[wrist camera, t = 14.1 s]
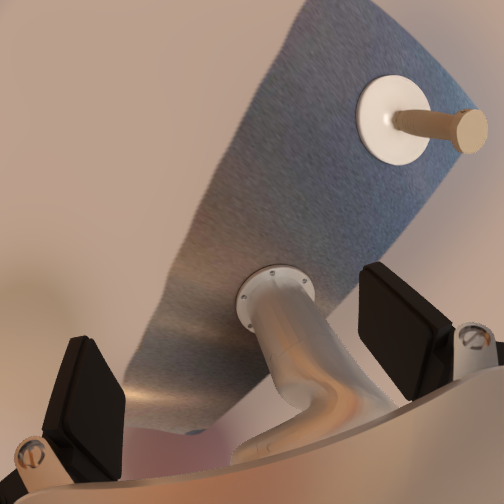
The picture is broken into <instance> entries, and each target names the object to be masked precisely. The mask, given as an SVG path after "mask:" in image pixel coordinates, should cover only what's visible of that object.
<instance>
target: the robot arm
mask: <svg viewBox="0 0 504 504" xmlns="http://www.w3.org/2000/svg"><path fill="white" fill-rule="evenodd" d="M271 271H272V272H271ZM314 300H315V291H314V286H313V284H312V282H311V280H310V279H309V278H308V276H307V275H306V274H305V273H304V272H303V271H301V270H300V269H298V268H296V267H293V266H290V265H273V266H268V267H266V268H263V269H261V270H259V271H257V272H256V273H254V274H253V275H251V276H250V277H249V278H248V279H247V280H246V281H245V282H244V284H243V285H242V286H241V288H240V290H239V292H238V295H237V298H236V311H237V314H238V318H239V320H240V322H241V323H242V324H243V326H244V327H245V328H246V329H248V330H249V331H251V332H253V333H255V334H256V337H257V339H258V342H259V345H260V347H261V350H262V353H263V355H264V358H265V360H266V363H267V366H268V368H269V371H270V374H271V376H272V379H273V382H274V384H275V387H276V389H277V391H278V393H279V394H280V395H281V397H282V398H283V399H284V400H285V401H286V402H288V403H289V404H290V405H292V406H294V407H296V408H298V409H300V410H302V411H303V412H301V413H299V414H297V415H296V416H295V417H294V418H292V419H290V420H288V421H286V422H284V423H282V424H280V425H278V426H276V427H274V428H272V429H270V430H268V431H266V432H263V433H261V434H259V435H257V436H255V437H253V438H251V439H249V440H247V441H245V442H244V443H242V444H241V445H240V446H238V447H237V448H236V450H235V451H234V453H233V454H232V457H231V464H230V465H231V466H226V467H222V468H217V469H211V470H206V471H201V472H195V473H188V474H182V475H175V476H167V477H159V478H149V479H139V480H128V481H118V479H120V478H121V474H122V473H121V472H122V446H123V445H122V444H123V428H124V414H125V402H126V399H125V394H124V392H123V390H122V388H121V387H120V385H119V383H118V382H117V380H116V378H115V377H114V375H113V373H112V372H111V370H110V368H109V367H108V365H107V363H106V361H105V359H104V358H103V356H102V354H101V352H100V351H99V349H98V347H97V345H96V343H95V341H94V340H93V339H89V338H88V337H87V336H79V337H74V338H71V339H70V341H69V344H68V346H67V349H66V352H65V355H64V358H63V360H62V363H61V366H60V369H59V372H58V375H57V378H56V382H55V385H54V388H53V391H52V394H51V398H50V401H49V405H48V408H47V412H46V415H45V419H44V423H43V426H42V430H43V435H42V437H40V436H32V437H28V438H26V439H25V440H23V441H22V442H21V443H20V444H19V446H18V447H17V449H16V451H15V454H14V462H15V466H16V469H15V470H14V471H13V472H11V473H10V474H9V475H8V476H7V477H5V478H4V479H3V480H2V481H1V482H0V504H504V342H497V341H495V337H494V334H493V333H492V331H491V330H490V329H489V328H487V327H486V326H484V325H482V324H480V323H474V322H469V323H464V324H461V325H460V326H458V327H457V329H455V328H454V327H453V326H452V322H451V321H450V320H449V319H448V318H447V317H446V316H444V315H443V314H442V313H441V312H440V311H439V310H438V309H436V308H435V307H434V306H433V305H432V304H431V303H430V302H428V301H427V300H426V299H425V298H424V297H422V296H421V295H420V294H419V293H418V292H417V291H415V290H414V289H413V288H412V287H411V286H409V285H408V284H407V283H406V282H405V281H403V280H402V279H401V278H400V277H398V276H397V275H396V274H395V273H394V272H392V271H391V270H390V269H389V268H387V267H386V266H385V265H384V264H382V263H381V262H375V263H371V264H368V265H365V266H364V267H363V270H362V271H360V273H359V318H358V333H359V337H360V339H361V340H362V342H363V343H364V344H365V345H366V347H367V348H368V349H369V351H370V352H371V353H372V355H373V356H374V357H375V359H376V360H377V361H378V363H379V364H380V365H381V366H382V368H383V369H384V370H385V372H386V373H387V374H388V376H389V377H390V378H391V380H392V381H393V382H394V384H395V385H396V386H397V388H398V389H399V390H400V391H401V393H402V394H403V396H404V397H405V398H406V399H407V400H408V401H411V400H412V402H411V403H409V404H407V405H405V406H403V407H400V408H398V406H397V405H396V404H395V403H394V402H393V400H392V399H391V398H390V397H389V396H388V395H386V393H384V392H383V391H382V390H381V389H380V388H379V387H378V386H377V385H376V384H375V383H374V382H373V381H372V380H371V379H370V378H369V377H368V376H367V375H366V373H365V372H364V371H363V370H362V369H361V367H360V366H359V365H358V364H357V362H356V361H355V360H354V358H353V357H352V356H351V354H350V353H349V351H348V350H347V349H346V347H345V346H344V344H343V343H342V341H341V340H340V339H339V338H338V336H337V334H336V333H335V331H334V330H333V329H332V327H331V326H330V324H329V323H328V322H327V320H326V319H325V317H324V316H323V314H322V313H321V312H320V310H319V309H318V307H317V306H316V305H315V303H314Z"/></svg>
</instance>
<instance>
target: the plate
mask: <svg viewBox="0 0 504 504" xmlns="http://www.w3.org/2000/svg"><path fill="white" fill-rule="evenodd" d="M412 109H420V110H429V111H430V107H429V104H428V101H427V99H426V97H425V95H424V94H423V92H422V91H421V90H420V88H419V87H418V86H417V85H416V84H415V83H413V82H412V81H410V80H409V79H407V78H405V77H402V76H396V75H391V76H383V77H379V78H376V79H374V80H373V81H371V82H370V83H369V84H368V85H367V86H366V87H365V88H364V90H363V91H362V93H361V95H360V97H359V100H358V103H357V108H356V124H357V129H358V133H359V136H360V138H361V141H362V142H363V144H364V146H365V147H366V149H367V150H368V151H369V152H370V153H371V154H372V155H373V156H374V157H375V158H377V159H379V160H381V161H383V162H386V163H390V164H393V165H404V164H408V163H410V162H412V161H414V160H416V159H417V158H418V157H419V156H420V155H421V154H422V153H423V151H424V150H425V148H426V146H427V144H428V142H429V139H430V138H424V137H418V136H414V135H410V134H407V133H405V132H403V131H398V130H396V129H395V128H394V124H393V122H392V119H393V117H394V115H395V112H396V111H400V110H402V111H404V110H412Z"/></svg>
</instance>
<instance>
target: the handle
mask: <svg viewBox="0 0 504 504" xmlns="http://www.w3.org/2000/svg"><path fill="white" fill-rule="evenodd" d="M392 122H393V124H394V128H395V129H396V130H398V131H403V132H405V133H407V134H410V135H414V136H418V137H424V138H433V139H442V140H450V141H452V144H453V146H454V148H455V149H456V150H457V151H458V152H461V153H466V154H471V153H475V152H476V151H477V150H479V149H480V148H481V147H482V146H483V144H484V142H485V140H486V138H487V136H488V125H487V121H486V118H485V115H484V114H483V112H482V111H480V110H474V109H464V110H461V111H458V112H457V113H456V115H451V114H446V113H440V112H434V111H429V110H420V109H412V110H404V111H402V110H400V111H396V112H395V115H394V117H393V119H392Z"/></svg>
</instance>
